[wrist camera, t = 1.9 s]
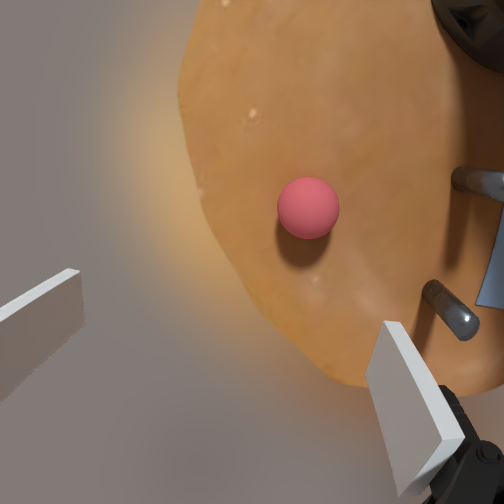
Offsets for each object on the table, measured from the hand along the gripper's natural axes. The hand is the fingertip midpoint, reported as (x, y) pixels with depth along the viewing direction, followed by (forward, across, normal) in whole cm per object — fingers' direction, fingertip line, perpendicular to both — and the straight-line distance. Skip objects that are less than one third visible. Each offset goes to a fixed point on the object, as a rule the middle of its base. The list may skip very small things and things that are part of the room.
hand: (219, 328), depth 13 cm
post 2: (+20, +20, +9) cm, 30 cm away
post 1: (+20, +20, -4) cm, 28 cm away
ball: (+17, +4, +3) cm, 18 cm away
